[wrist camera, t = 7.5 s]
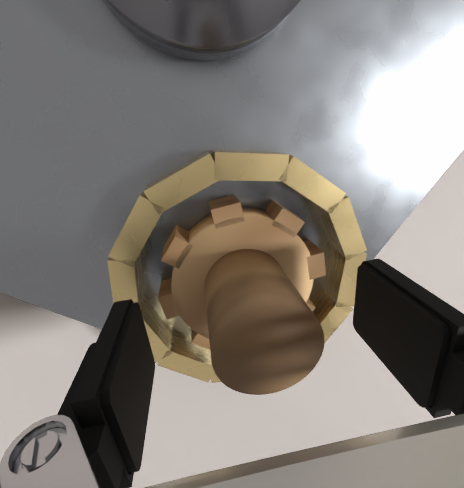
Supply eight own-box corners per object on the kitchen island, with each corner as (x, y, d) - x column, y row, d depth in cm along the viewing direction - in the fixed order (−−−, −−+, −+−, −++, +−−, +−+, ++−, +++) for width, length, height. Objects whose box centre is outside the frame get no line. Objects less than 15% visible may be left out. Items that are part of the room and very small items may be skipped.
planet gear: (340, 243, 14) (428, 305, 9) (258, 350, 16) (291, 453, 11) (212, 162, 11) (231, 185, 6) (133, 299, 13) (100, 400, 8)
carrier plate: (521, 39, 13) (631, 8, 10) (261, 368, 18) (277, 419, 15) (101, -523, 7) (19, -1141, 3) (-105, 229, 12) (-212, 264, 9)
